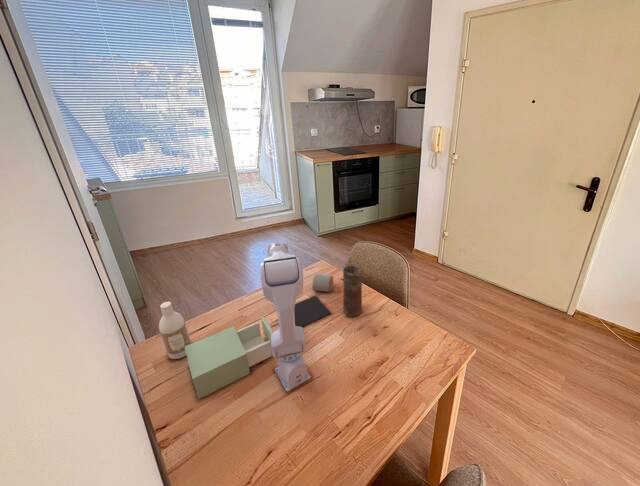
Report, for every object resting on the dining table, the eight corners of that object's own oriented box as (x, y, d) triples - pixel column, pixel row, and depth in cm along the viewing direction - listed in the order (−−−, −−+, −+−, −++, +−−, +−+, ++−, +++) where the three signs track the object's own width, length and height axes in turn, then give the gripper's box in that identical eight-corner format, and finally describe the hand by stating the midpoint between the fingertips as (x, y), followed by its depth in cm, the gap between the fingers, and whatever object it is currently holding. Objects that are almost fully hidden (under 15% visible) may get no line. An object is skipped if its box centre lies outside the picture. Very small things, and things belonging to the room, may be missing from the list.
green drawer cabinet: (237, 345, 102) (233, 326, 98) (250, 373, 92) (246, 353, 88) (190, 366, 94) (184, 346, 90) (198, 399, 84) (192, 378, 80)
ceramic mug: (330, 295, 127) (330, 280, 124) (312, 293, 128) (311, 279, 125) (334, 281, 137) (334, 267, 134) (317, 279, 137) (317, 265, 134)
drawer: (278, 325, 109) (277, 311, 106) (293, 347, 100) (291, 332, 97) (227, 348, 99) (224, 333, 96) (238, 375, 90) (235, 359, 87)
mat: (330, 313, 117) (330, 312, 117) (293, 331, 108) (293, 330, 108) (315, 296, 126) (315, 295, 126) (279, 311, 118) (279, 310, 117)
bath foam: (169, 363, 94) (152, 315, 86) (167, 348, 99) (152, 302, 91) (193, 354, 98) (179, 306, 89) (190, 340, 103) (177, 294, 95)
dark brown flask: (340, 307, 120) (340, 266, 112) (356, 302, 123) (357, 262, 115) (347, 319, 114) (348, 277, 106) (364, 314, 117) (366, 272, 109)
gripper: (300, 281, 96) (302, 313, 102) (282, 261, 107) (285, 291, 112) (280, 288, 92) (283, 321, 98) (263, 267, 103) (267, 298, 108)
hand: (283, 306), depth 105 cm, fingers closed on bottle, 4 cm apart
